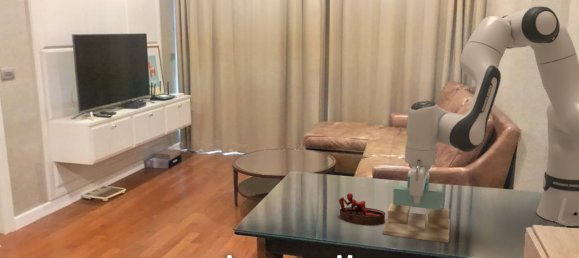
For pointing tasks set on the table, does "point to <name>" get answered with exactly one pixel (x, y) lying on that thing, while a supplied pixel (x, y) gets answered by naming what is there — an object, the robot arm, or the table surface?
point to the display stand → (418, 224)
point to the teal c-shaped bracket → (427, 199)
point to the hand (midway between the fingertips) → (417, 200)
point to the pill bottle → (425, 182)
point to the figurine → (360, 212)
